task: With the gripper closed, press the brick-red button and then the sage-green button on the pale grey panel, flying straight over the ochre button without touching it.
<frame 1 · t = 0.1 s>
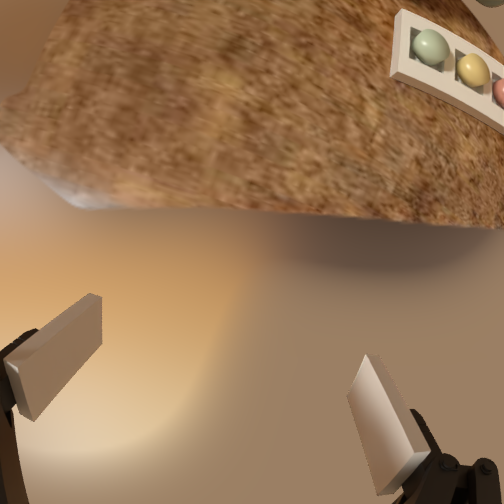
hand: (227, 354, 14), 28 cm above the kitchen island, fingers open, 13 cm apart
sage button: (430, 47, 29), point 4 cm above the kitchen island, slide at 0.0 cm
ochre button: (473, 70, 29), point 4 cm above the kitchen island, slide at 0.0 cm
panel: (459, 76, 33), on the kitchen island
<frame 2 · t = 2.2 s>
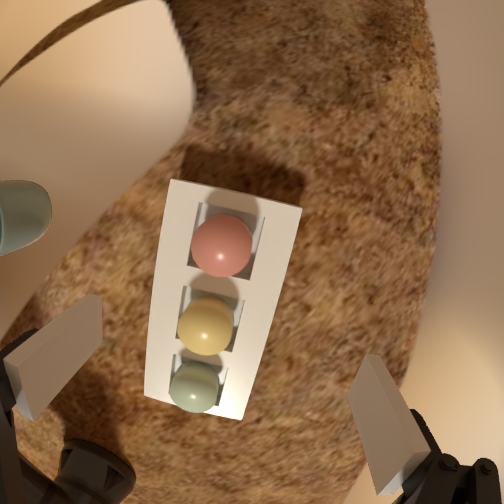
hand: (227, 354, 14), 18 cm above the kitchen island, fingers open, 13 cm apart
sage button: (194, 387, 30), point 4 cm above the kitchen island, slide at 0.0 cm
brick button: (223, 244, 26), point 4 cm above the kitchen island, slide at 0.0 cm
ochre button: (206, 325, 28), point 4 cm above the kitchen island, slide at 0.0 cm
cup: (39, 209, 31), on the kitchen island
panel: (212, 308, 32), on the kitchen island
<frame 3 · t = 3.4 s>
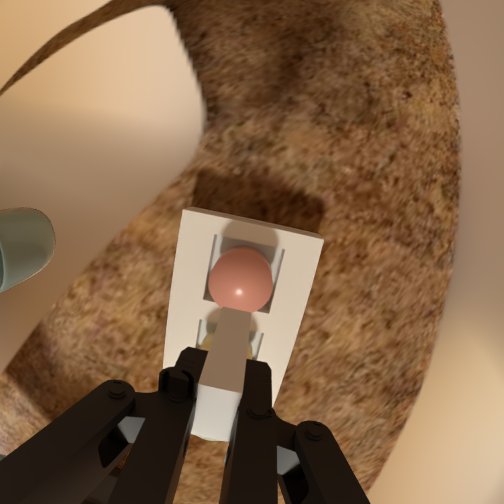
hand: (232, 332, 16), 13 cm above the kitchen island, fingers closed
sage button: (212, 416, 29), point 4 cm above the kitchen island, slide at 0.0 cm
brick button: (241, 279, 25), point 4 cm above the kitchen island, slide at 0.0 cm
ochre button: (224, 358, 27), point 4 cm above the kitchen island, slide at 0.0 cm
cup: (42, 235, 29), on the kitchen island
panel: (229, 338, 31), on the kitchen island
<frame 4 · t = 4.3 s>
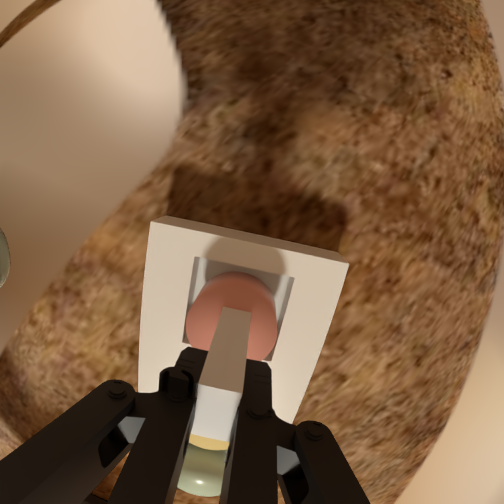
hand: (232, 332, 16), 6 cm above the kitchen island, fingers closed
sage button: (201, 470, 21), point 4 cm above the kitchen island, slide at 0.0 cm
brick button: (233, 319, 18), point 4 cm above the kitchen island, slide at 0.0 cm, touching gripper
ochre button: (213, 414, 19), point 4 cm above the kitchen island, slide at 0.0 cm
panel: (220, 382, 23), on the kitchen island
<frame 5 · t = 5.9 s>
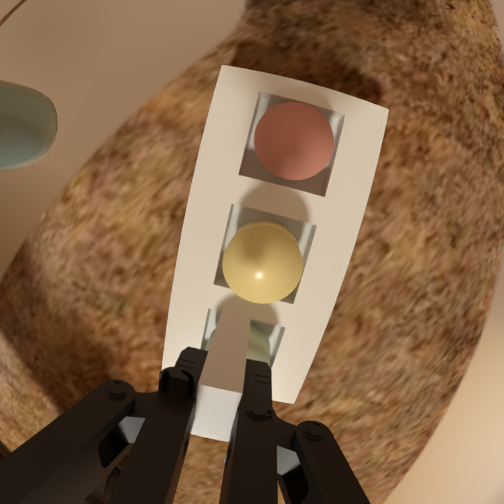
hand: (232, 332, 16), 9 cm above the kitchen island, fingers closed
sage button: (237, 357, 22), point 4 cm above the kitchen island, slide at 0.0 cm
brick button: (292, 142, 19), point 3 cm above the kitchen island, slide at 1.0 cm
ochre button: (263, 259, 20), point 4 cm above the kitchen island, slide at 0.0 cm
cup: (42, 130, 23), on the kitchen island
panel: (264, 245, 24), on the kitchen island
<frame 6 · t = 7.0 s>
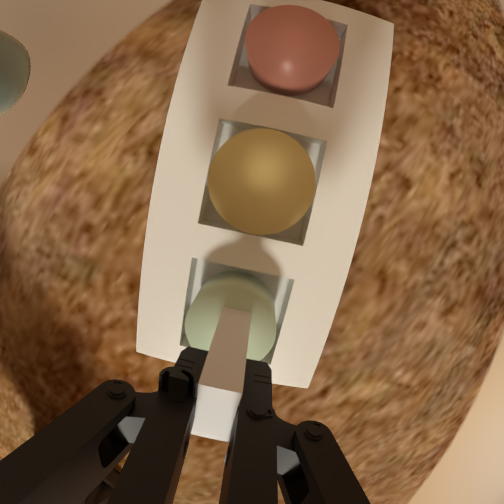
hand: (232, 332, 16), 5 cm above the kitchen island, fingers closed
sage button: (232, 319, 18), point 4 cm above the kitchen island, slide at 0.5 cm, touching gripper
brick button: (290, 50, 14), point 3 cm above the kitchen island, slide at 1.0 cm
ochre button: (261, 181, 15), point 4 cm above the kitchen island, slide at 0.0 cm
cup: (15, 84, 18), on the kitchen island
panel: (262, 181, 19), on the kitchen island
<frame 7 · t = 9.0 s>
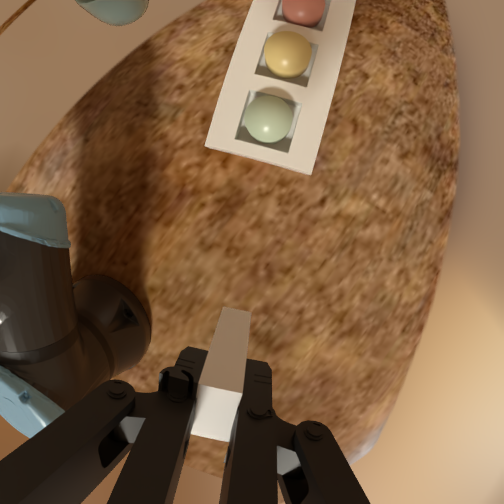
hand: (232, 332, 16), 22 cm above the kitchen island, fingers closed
sage button: (268, 120, 31), point 3 cm above the kitchen island, slide at 1.0 cm
brick button: (302, 7, 27), point 3 cm above the kitchen island, slide at 1.0 cm
ochre button: (287, 54, 28), point 4 cm above the kitchen island, slide at 0.0 cm
cup: (131, 11, 31), on the kitchen island
panel: (286, 67, 32), on the kitchen island
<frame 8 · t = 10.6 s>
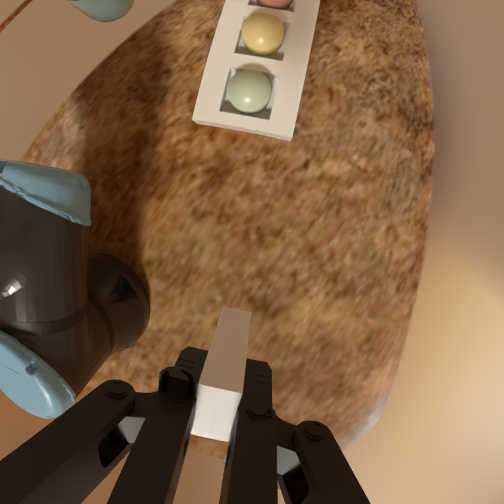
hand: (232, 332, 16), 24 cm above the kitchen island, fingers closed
sage button: (249, 92, 32), point 3 cm above the kitchen island, slide at 1.0 cm
ochre button: (262, 33, 29), point 4 cm above the kitchen island, slide at 0.0 cm
cup: (118, 9, 32), on the kitchen island
panel: (263, 46, 33), on the kitchen island
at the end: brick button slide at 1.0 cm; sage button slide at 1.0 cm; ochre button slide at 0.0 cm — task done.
